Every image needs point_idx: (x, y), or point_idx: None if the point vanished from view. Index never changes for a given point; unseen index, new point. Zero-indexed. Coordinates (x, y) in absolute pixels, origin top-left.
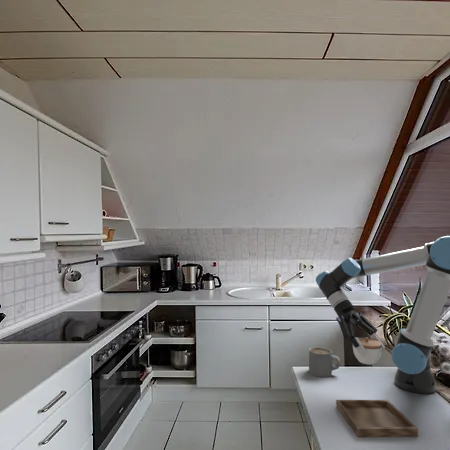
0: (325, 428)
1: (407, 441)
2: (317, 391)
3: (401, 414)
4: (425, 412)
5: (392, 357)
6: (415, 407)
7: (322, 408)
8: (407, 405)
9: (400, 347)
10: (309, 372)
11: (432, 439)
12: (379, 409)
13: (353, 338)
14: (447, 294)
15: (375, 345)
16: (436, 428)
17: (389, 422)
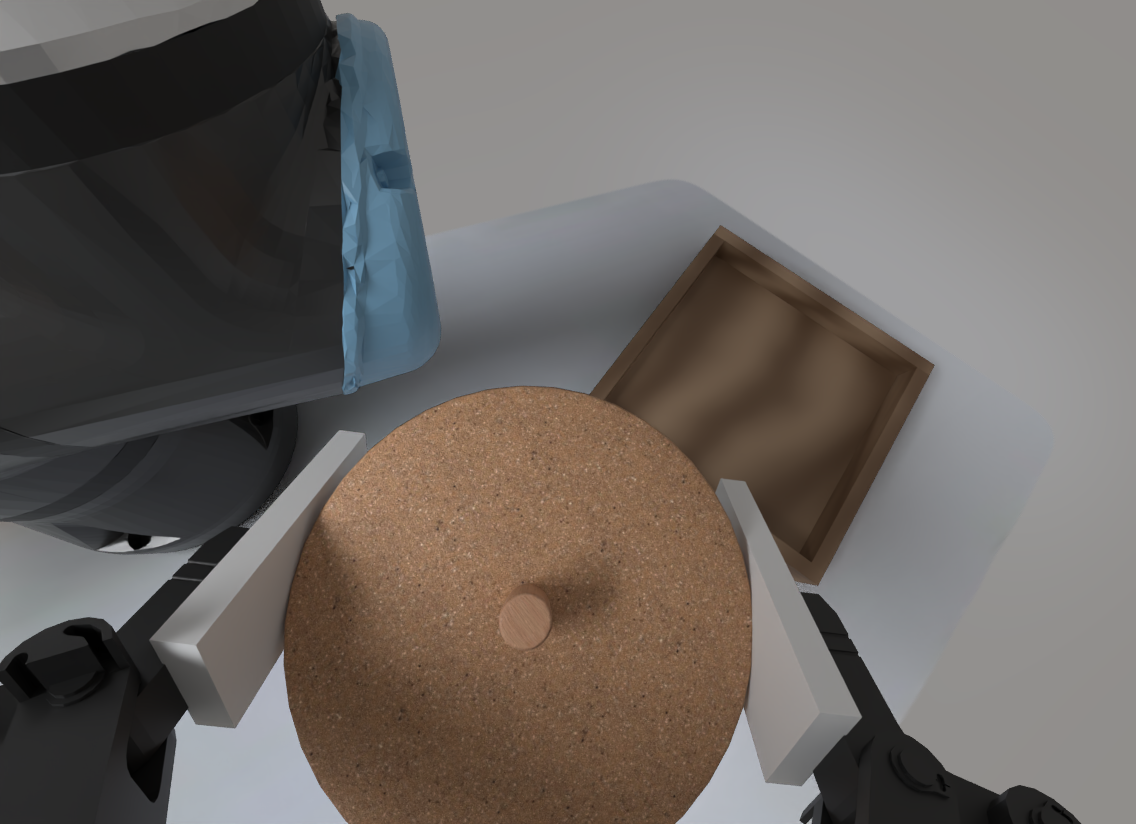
0: (981, 493)
1: (770, 256)
2: (741, 787)
3: (667, 305)
4: (487, 289)
5: (432, 345)
6: (472, 333)
7: (870, 617)
8: (481, 364)
9: (401, 187)
10: None
11: (681, 209)
12: (651, 419)
13: (880, 738)
14: None
15: (601, 419)
16: (591, 222)
17: (722, 339)
